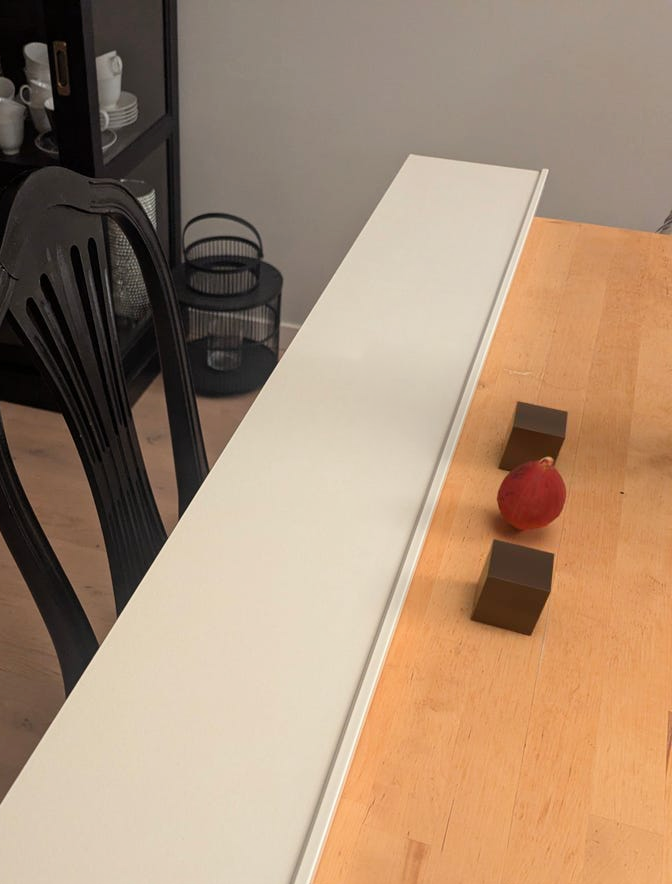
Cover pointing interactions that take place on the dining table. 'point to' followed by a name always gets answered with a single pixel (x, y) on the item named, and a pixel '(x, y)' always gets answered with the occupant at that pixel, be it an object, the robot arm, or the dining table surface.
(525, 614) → the walnut block near
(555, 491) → the onion
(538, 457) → the walnut block far
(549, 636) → the dining table surface
